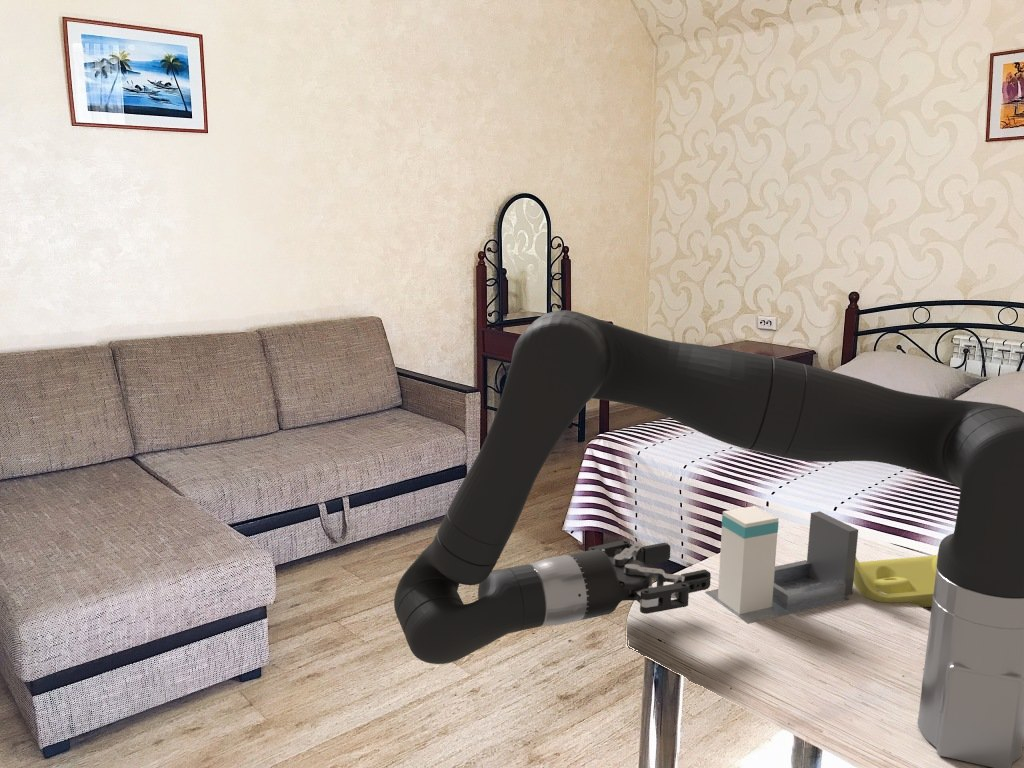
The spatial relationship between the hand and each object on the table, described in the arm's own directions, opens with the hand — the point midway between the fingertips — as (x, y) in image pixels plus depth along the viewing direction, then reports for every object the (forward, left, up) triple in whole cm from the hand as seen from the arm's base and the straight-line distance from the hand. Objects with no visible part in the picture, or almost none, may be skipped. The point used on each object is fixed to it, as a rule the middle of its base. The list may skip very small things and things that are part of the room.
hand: (687, 564), depth 104 cm
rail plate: (+10, -10, -9) cm, 16 cm away
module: (+6, -6, -7) cm, 11 cm away
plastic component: (+21, -28, -9) cm, 36 cm away
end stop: (+16, -16, -8) cm, 24 cm away
